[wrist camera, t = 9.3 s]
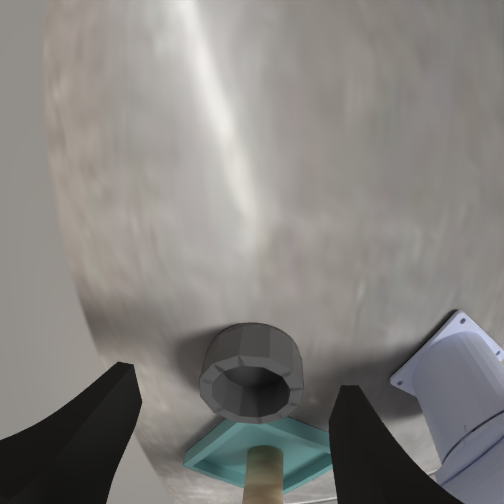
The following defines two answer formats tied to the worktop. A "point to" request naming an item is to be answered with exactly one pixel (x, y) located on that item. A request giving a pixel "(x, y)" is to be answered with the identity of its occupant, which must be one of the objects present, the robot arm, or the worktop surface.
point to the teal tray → (269, 434)
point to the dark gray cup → (252, 374)
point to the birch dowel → (264, 476)
